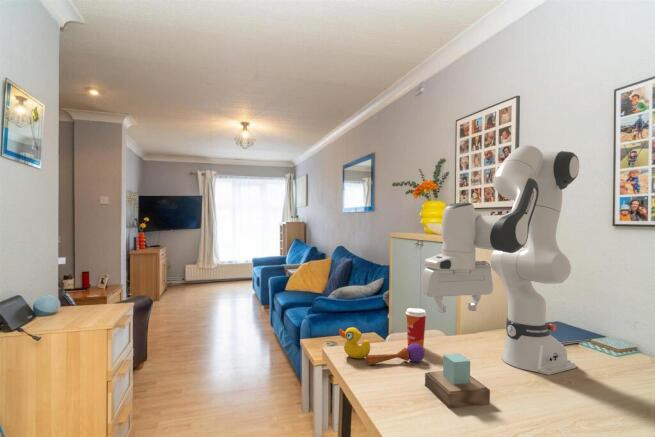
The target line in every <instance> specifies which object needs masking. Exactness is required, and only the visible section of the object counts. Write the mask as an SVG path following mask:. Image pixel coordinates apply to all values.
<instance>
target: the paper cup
mask: <svg viewBox="0 0 655 437" xmlns="http://www.w3.org/2000/svg"><path fill="white" fill-rule="evenodd" d="M405 315H406V336H407V337H406V338H407V339H406V340H407V347H408V346H409V345H410V344H414V343H416V344H419V345H420V346H421V347H422V348H423V349H424V343H425V329H426V319H427V312H426V310H425V309H423V308H419V307H418V308H417V307H414V308H413V307H409V308H406V311H405Z"/></svg>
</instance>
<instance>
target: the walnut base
mask: <svg viewBox="0 0 655 437" xmlns="http://www.w3.org/2000/svg"><path fill="white" fill-rule="evenodd" d="M424 375H425V376H424V377H425V378H424V386H425V387H426V388H427V389H428V390H429V391H430V392H431V393H432V394H433V395H434V396H435V397H437V399H438V400H440V402H442V404H444V405H445V406H446V407H447V408H448V409H454V408H462V407H464V408H465V407H473V406H478V405H479V406H480V405H488V404H490V402H491V400H490V399H491V391H490V390H491V389H490V388H488V387H487V386H486V385H484V384H483V383H481V382H480V381H479V380H477V379H476V378H475V377H473V376H472V375H470V383H465V384H455V385H453V384H452V383H451V382H450V381H448V380H447V379H446V378H445V377H444V376H443V370H435V371H428V372H425V373H424Z"/></svg>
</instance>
